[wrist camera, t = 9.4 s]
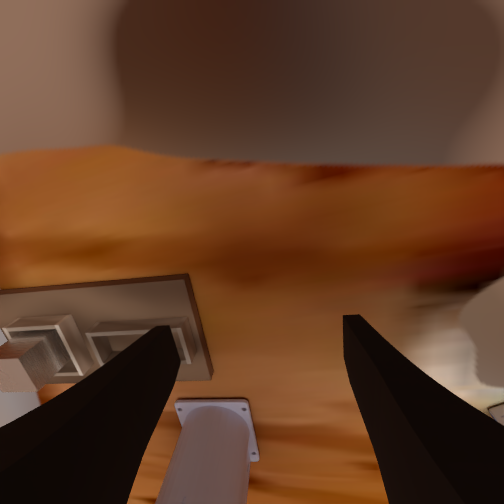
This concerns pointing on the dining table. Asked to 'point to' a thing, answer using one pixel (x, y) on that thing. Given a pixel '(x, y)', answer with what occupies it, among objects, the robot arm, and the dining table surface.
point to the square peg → (31, 360)
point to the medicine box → (498, 413)
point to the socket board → (110, 321)
